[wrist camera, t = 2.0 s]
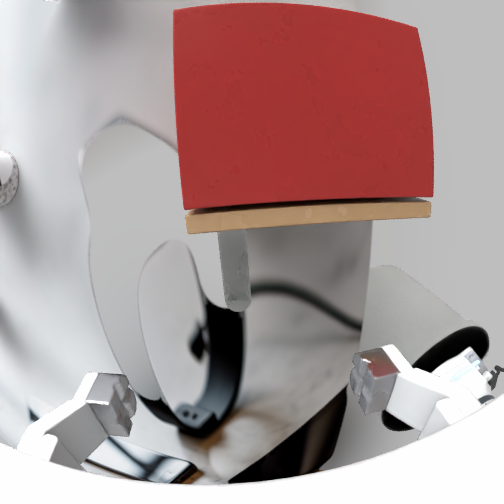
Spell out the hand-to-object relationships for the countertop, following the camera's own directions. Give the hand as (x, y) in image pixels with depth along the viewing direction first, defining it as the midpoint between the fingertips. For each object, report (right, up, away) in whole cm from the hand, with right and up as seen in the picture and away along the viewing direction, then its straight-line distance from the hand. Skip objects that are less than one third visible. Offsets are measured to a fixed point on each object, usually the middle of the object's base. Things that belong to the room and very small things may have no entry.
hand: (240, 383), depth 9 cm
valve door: (+2, +8, +18) cm, 20 cm away
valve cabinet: (+2, +16, +16) cm, 22 cm away
